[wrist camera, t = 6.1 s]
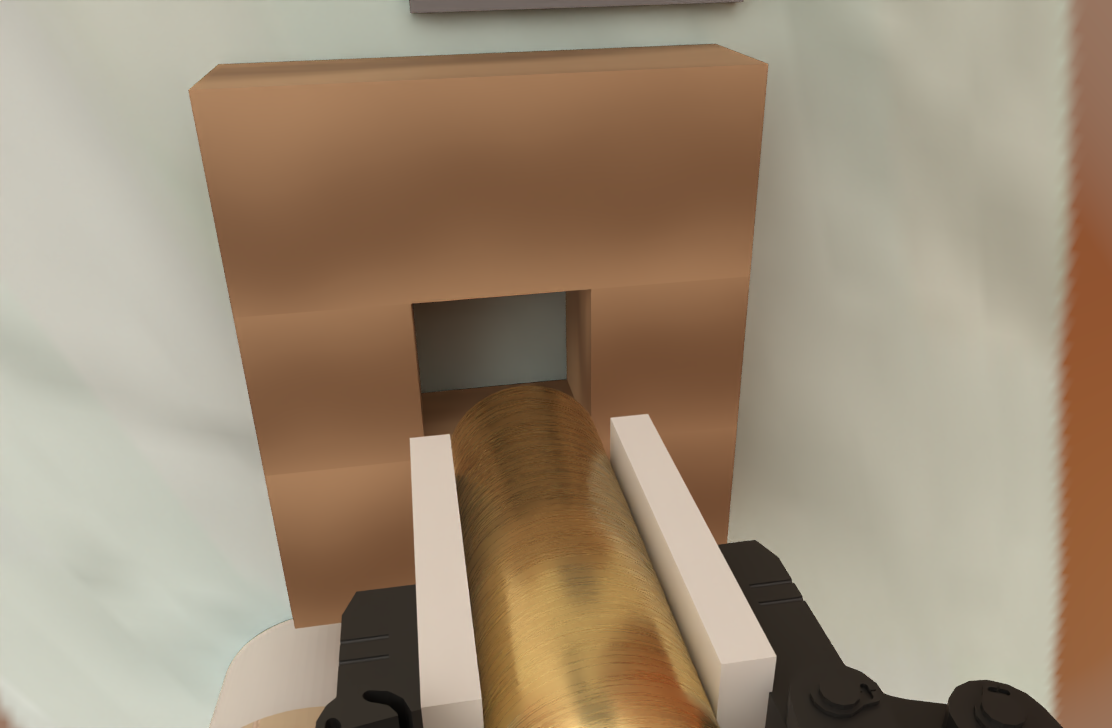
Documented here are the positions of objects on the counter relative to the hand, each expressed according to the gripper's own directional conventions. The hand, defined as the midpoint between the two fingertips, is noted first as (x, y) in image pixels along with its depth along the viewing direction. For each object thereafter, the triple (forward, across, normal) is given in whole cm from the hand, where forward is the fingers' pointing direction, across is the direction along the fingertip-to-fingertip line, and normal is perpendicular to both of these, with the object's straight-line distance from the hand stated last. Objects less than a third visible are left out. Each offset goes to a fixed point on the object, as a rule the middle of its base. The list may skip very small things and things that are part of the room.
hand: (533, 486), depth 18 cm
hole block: (+8, 0, 0) cm, 8 cm away
